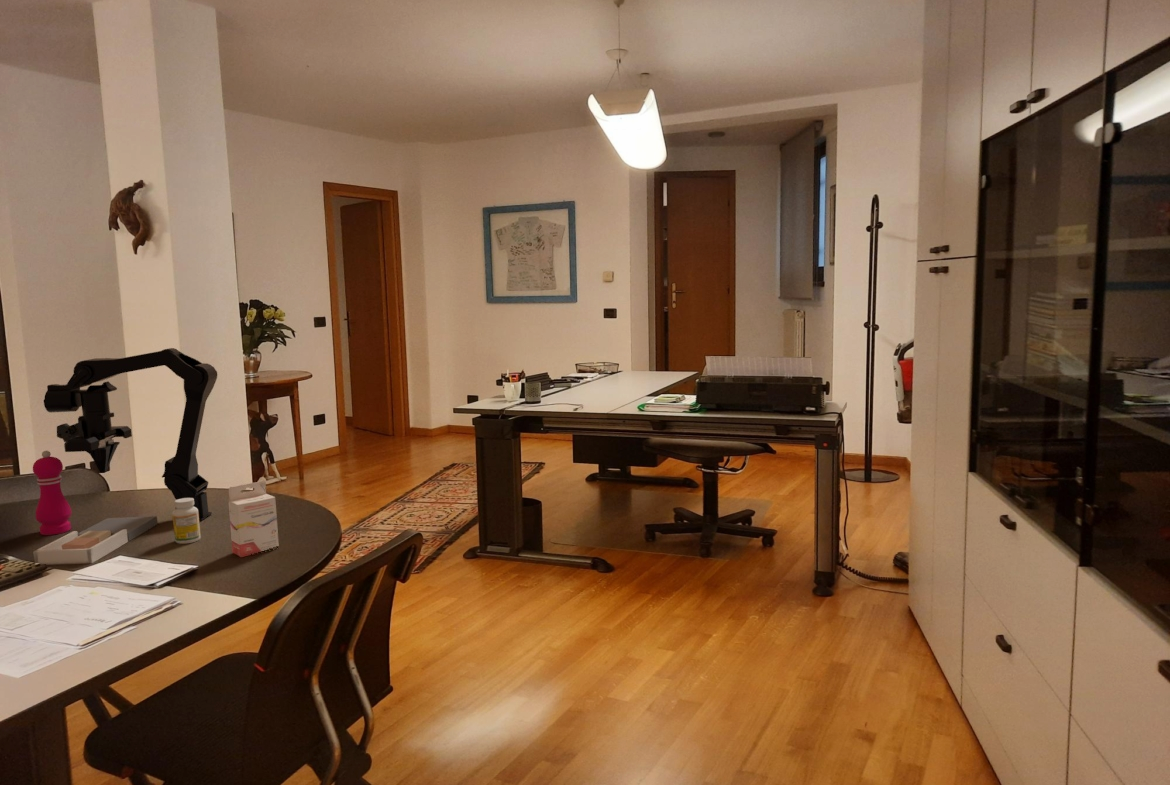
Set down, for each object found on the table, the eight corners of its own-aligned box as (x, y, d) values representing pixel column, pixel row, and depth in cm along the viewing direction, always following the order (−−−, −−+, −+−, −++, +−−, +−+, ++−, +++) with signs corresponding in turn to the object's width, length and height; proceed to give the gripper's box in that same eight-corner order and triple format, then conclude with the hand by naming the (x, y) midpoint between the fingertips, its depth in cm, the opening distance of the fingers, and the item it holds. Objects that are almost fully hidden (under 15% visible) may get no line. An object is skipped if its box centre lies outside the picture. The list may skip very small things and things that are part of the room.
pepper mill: (55, 536, 189) (45, 454, 186) (30, 535, 190) (19, 453, 188) (80, 527, 196) (71, 447, 193) (55, 526, 197) (46, 447, 195)
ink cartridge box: (241, 558, 170) (234, 491, 168) (232, 553, 173) (225, 487, 171) (280, 548, 176) (274, 483, 174) (270, 543, 179) (265, 479, 177)
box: (127, 541, 183) (126, 529, 183) (92, 563, 169) (90, 549, 169) (75, 543, 183) (73, 531, 182) (35, 565, 169) (33, 551, 169)
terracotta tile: (100, 548, 178) (98, 537, 177) (85, 555, 173) (84, 544, 173) (78, 548, 178) (76, 537, 178) (63, 556, 173) (61, 545, 173)
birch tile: (111, 541, 183) (110, 530, 182) (98, 548, 178) (96, 537, 177) (90, 541, 183) (89, 531, 183) (76, 548, 178) (74, 538, 178)
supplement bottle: (194, 543, 180) (190, 502, 179) (170, 544, 180) (166, 503, 179) (205, 536, 186) (201, 496, 184) (181, 537, 185) (177, 497, 184)
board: (157, 524, 196) (156, 516, 196) (129, 541, 184) (128, 532, 183) (108, 525, 196) (107, 518, 196) (76, 543, 183) (75, 534, 183)
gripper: (85, 405, 203) (92, 465, 205) (37, 418, 185) (45, 483, 187) (129, 404, 204) (136, 463, 206) (85, 416, 185) (93, 481, 187)
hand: (103, 472), depth 196 cm, fingers closed
